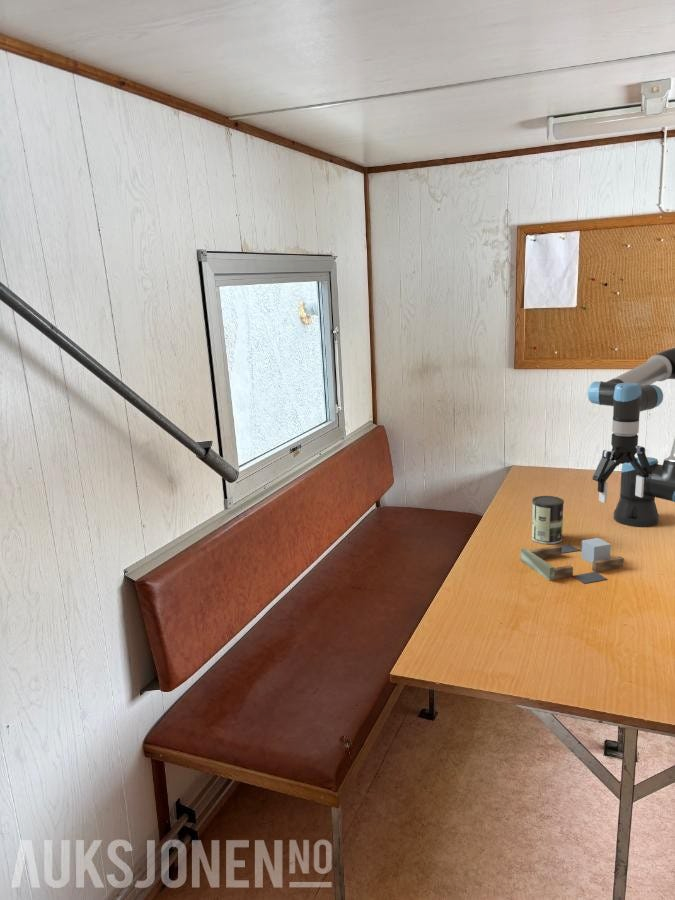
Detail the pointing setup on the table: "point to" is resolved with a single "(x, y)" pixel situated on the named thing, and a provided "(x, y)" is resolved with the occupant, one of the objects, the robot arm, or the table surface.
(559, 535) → the coffee can
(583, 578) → the mat
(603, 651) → the table surface
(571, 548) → the mat
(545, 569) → the lane
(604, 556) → the block
